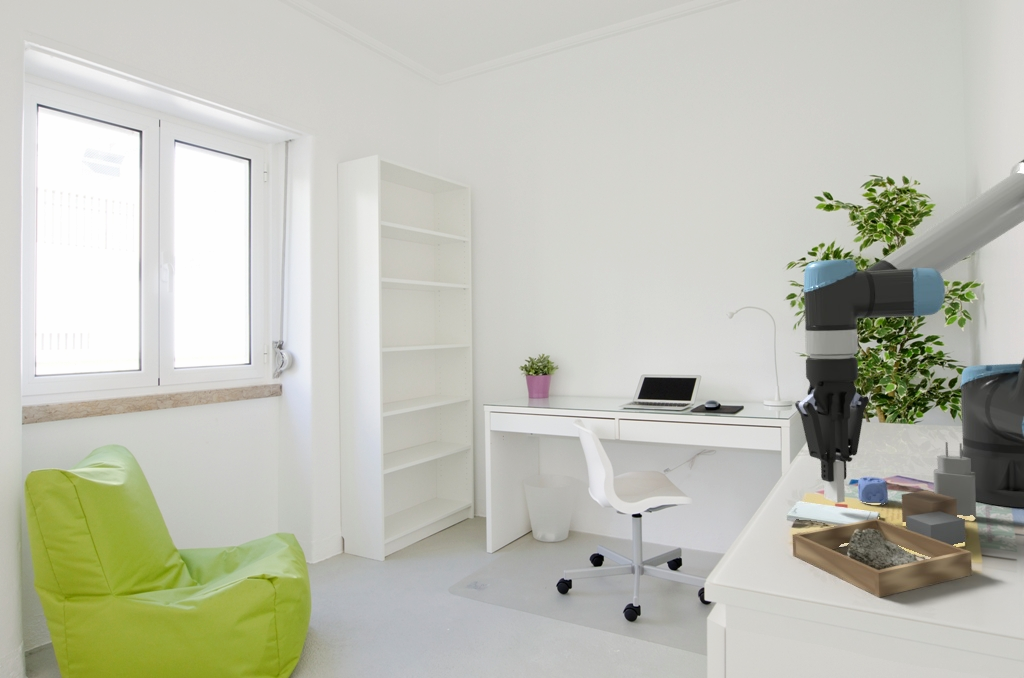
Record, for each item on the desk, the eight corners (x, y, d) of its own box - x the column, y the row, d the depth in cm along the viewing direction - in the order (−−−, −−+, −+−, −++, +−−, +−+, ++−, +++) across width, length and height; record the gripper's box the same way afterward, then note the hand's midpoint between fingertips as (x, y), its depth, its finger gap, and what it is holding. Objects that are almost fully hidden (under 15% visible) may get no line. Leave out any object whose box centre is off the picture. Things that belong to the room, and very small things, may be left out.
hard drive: (786, 514, 103) (872, 526, 95) (798, 500, 109) (879, 510, 102) (786, 523, 103) (873, 536, 95) (798, 509, 109) (880, 520, 102)
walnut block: (926, 521, 99) (925, 490, 99) (957, 531, 95) (956, 498, 94) (902, 525, 98) (901, 494, 98) (932, 536, 93) (931, 503, 93)
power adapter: (935, 511, 103) (933, 439, 103) (976, 516, 100) (974, 442, 100) (934, 516, 101) (932, 443, 100) (976, 521, 98) (974, 446, 97)
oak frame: (876, 538, 93) (875, 518, 93) (971, 575, 80) (971, 551, 80) (793, 555, 89) (792, 534, 89) (879, 597, 75) (878, 572, 75)
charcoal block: (940, 537, 93) (939, 511, 92) (965, 547, 89) (964, 519, 89) (907, 543, 91) (906, 516, 91) (931, 553, 87) (930, 525, 87)
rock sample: (930, 567, 74) (880, 504, 80) (873, 599, 77) (829, 536, 83) (954, 578, 80) (906, 519, 86) (901, 608, 83) (858, 549, 89)
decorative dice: (858, 498, 112) (857, 476, 112) (883, 499, 111) (883, 477, 110) (861, 505, 108) (860, 482, 108) (888, 506, 107) (887, 483, 107)
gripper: (844, 352, 106) (847, 488, 108) (781, 357, 103) (785, 498, 104) (882, 354, 99) (885, 500, 100) (816, 360, 95) (820, 512, 96)
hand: (834, 499), depth 102 cm, fingers closed
